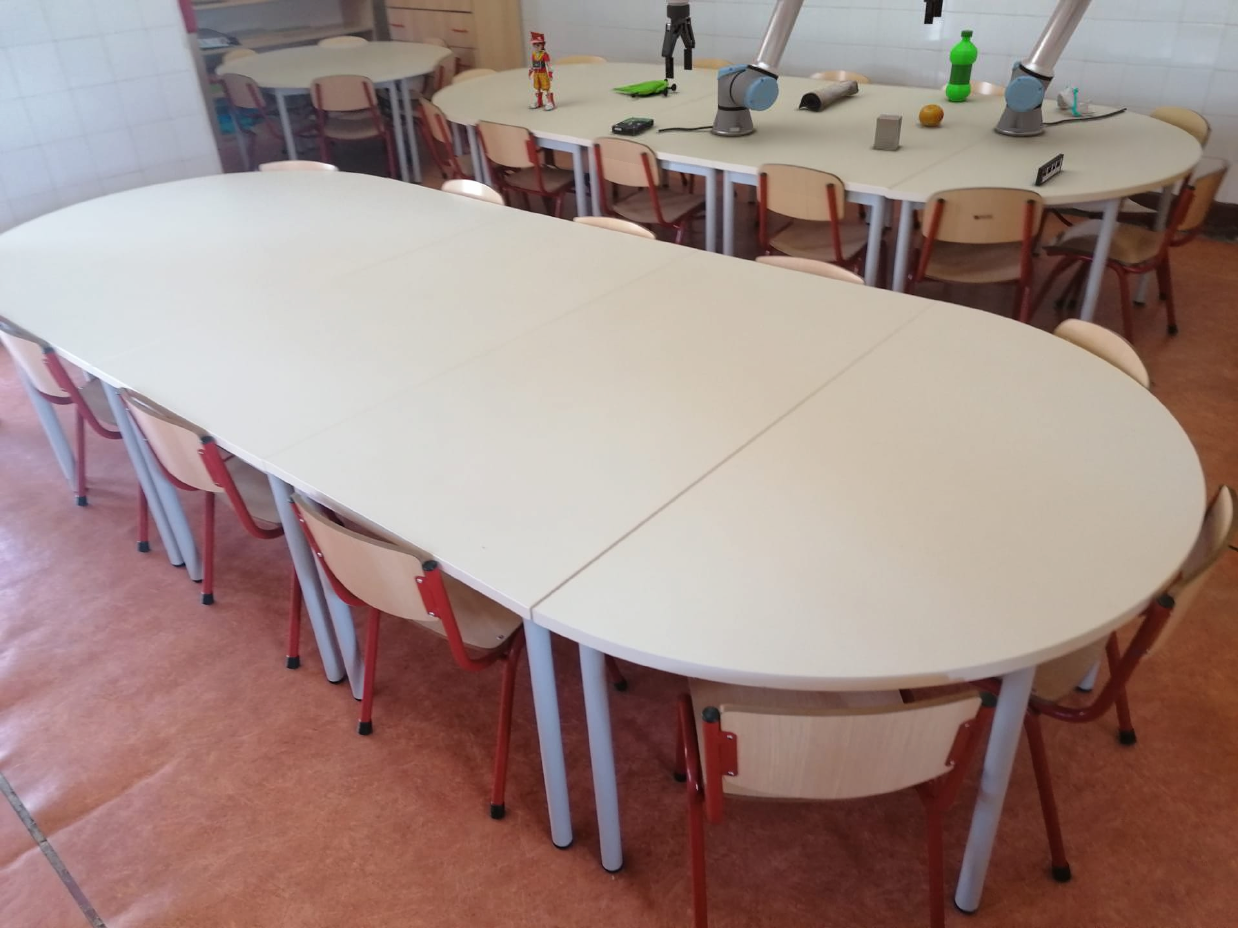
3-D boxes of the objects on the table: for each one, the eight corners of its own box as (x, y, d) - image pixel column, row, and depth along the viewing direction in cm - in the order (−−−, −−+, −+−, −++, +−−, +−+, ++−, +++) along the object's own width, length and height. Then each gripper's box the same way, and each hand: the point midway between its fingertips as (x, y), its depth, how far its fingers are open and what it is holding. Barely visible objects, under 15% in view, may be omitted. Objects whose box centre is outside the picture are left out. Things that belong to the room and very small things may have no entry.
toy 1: (525, 109, 381) (517, 32, 364) (534, 104, 388) (527, 28, 371) (550, 110, 377) (543, 32, 360) (559, 105, 384) (553, 28, 367)
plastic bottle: (975, 99, 356) (987, 30, 342) (958, 104, 351) (969, 35, 337) (955, 95, 363) (965, 28, 349) (937, 100, 358) (947, 32, 344)
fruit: (913, 117, 326) (928, 97, 323) (915, 120, 333) (929, 101, 330) (933, 130, 324) (947, 110, 321) (933, 133, 332) (948, 113, 329)
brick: (873, 148, 309) (876, 118, 304) (878, 144, 313) (881, 114, 307) (894, 150, 306) (898, 120, 300) (898, 146, 310) (902, 116, 304)
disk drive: (634, 136, 338) (654, 126, 348) (634, 128, 336) (654, 118, 346) (611, 133, 343) (631, 123, 353) (611, 126, 341) (631, 116, 351)
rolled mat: (834, 85, 375) (850, 69, 367) (846, 103, 376) (863, 88, 367) (794, 103, 358) (811, 87, 350) (807, 122, 358) (824, 107, 350)
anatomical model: (1050, 84, 335) (1077, 77, 334) (1049, 112, 341) (1076, 105, 340) (1070, 94, 323) (1098, 86, 322) (1069, 123, 328) (1096, 115, 328)
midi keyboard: (1039, 185, 269) (1043, 168, 266) (1035, 184, 270) (1038, 168, 267) (1060, 170, 279) (1064, 154, 277) (1056, 169, 280) (1060, 153, 277)
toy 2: (686, 85, 398) (631, 84, 414) (685, 72, 395) (629, 72, 411) (651, 104, 381) (596, 103, 397) (650, 92, 378) (594, 91, 394)
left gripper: (670, 10, 279) (672, 83, 291) (705, -2, 296) (705, 67, 308) (649, 10, 282) (651, 81, 294) (685, -3, 299) (685, 66, 311)
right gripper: (945, -48, 276) (936, 27, 288) (960, -57, 294) (951, 14, 306) (920, -48, 280) (912, 27, 292) (937, -57, 297) (929, 14, 309)
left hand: (679, 74), depth 301 cm, fingers open, 13 cm apart
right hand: (932, 20), depth 299 cm, fingers open, 13 cm apart
